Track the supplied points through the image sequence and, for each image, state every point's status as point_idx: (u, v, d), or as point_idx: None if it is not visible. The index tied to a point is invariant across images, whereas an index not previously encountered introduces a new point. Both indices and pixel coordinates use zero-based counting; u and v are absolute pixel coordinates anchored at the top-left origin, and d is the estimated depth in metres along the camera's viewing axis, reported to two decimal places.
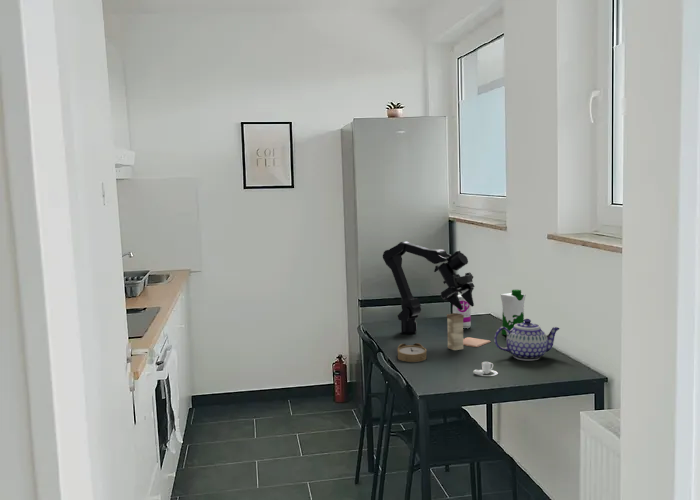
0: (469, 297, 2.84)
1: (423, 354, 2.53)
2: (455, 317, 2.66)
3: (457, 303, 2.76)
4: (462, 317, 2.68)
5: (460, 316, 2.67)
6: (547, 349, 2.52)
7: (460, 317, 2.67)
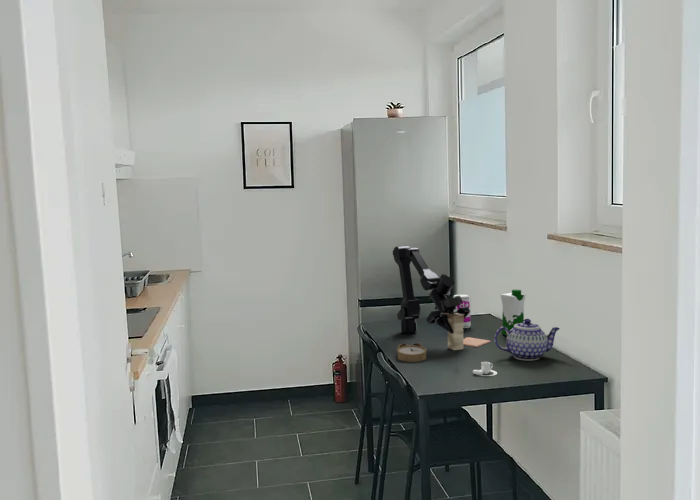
0: None
1: (423, 354, 2.53)
2: (455, 317, 2.66)
3: (447, 326, 2.68)
4: (462, 317, 2.68)
5: (460, 316, 2.67)
6: (547, 349, 2.52)
7: (460, 317, 2.67)
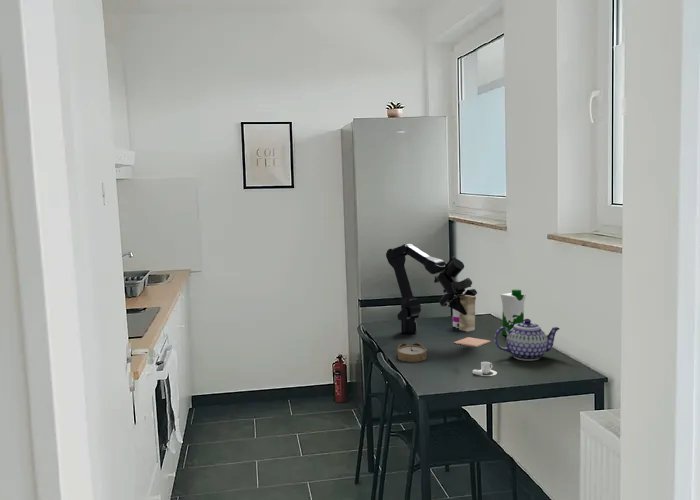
0: None
1: (423, 354, 2.54)
2: (469, 299, 2.71)
3: (460, 308, 2.72)
4: (474, 299, 2.73)
5: (473, 298, 2.72)
6: (547, 349, 2.52)
7: (473, 299, 2.72)
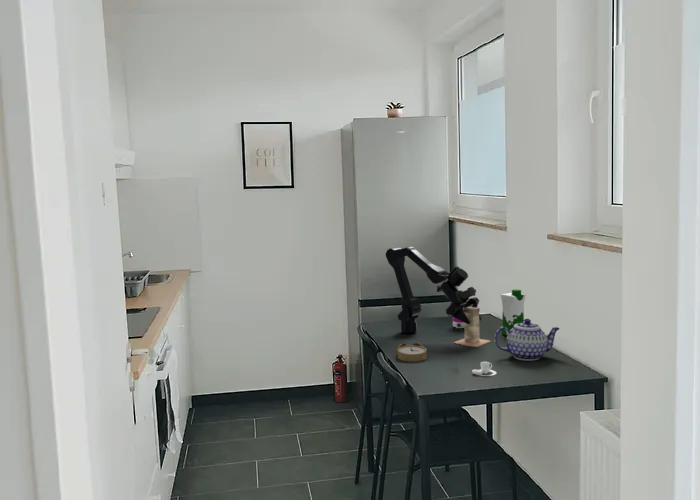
0: None
1: (423, 354, 2.54)
2: (474, 310, 2.75)
3: (464, 318, 2.74)
4: (478, 310, 2.78)
5: (477, 309, 2.77)
6: (547, 349, 2.52)
7: (477, 310, 2.77)
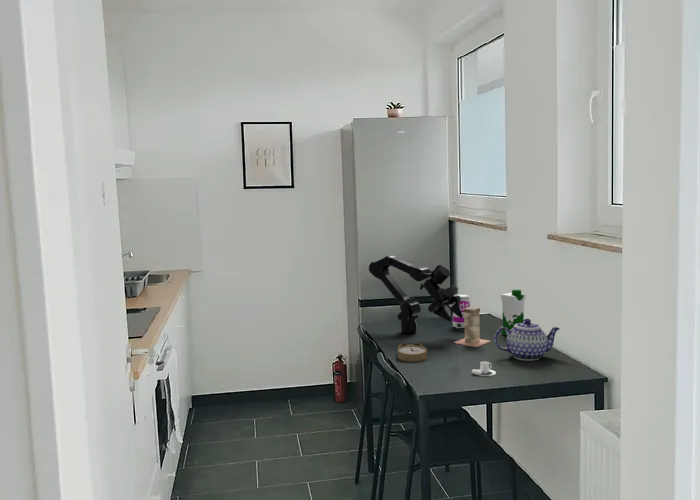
0: (457, 309, 2.88)
1: (423, 354, 2.54)
2: (474, 311, 2.75)
3: (445, 315, 2.80)
4: (479, 310, 2.78)
5: (478, 309, 2.77)
6: (547, 349, 2.52)
7: (478, 310, 2.77)
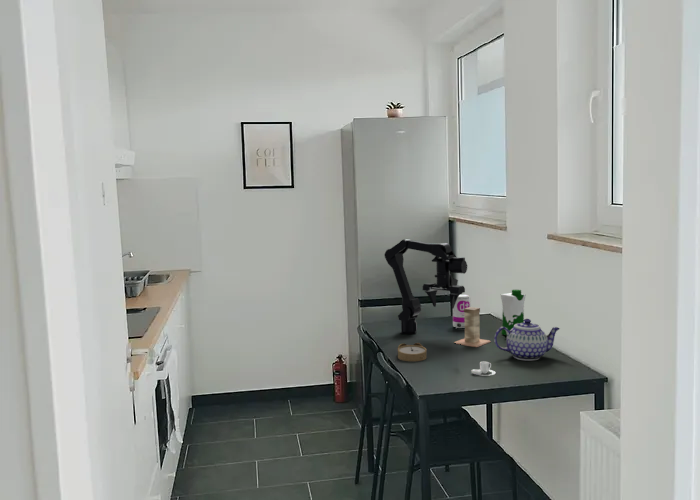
0: (435, 297, 2.93)
1: (423, 354, 2.54)
2: (474, 311, 2.75)
3: (454, 302, 2.85)
4: (479, 310, 2.78)
5: (478, 309, 2.77)
6: (547, 349, 2.52)
7: (478, 310, 2.77)
